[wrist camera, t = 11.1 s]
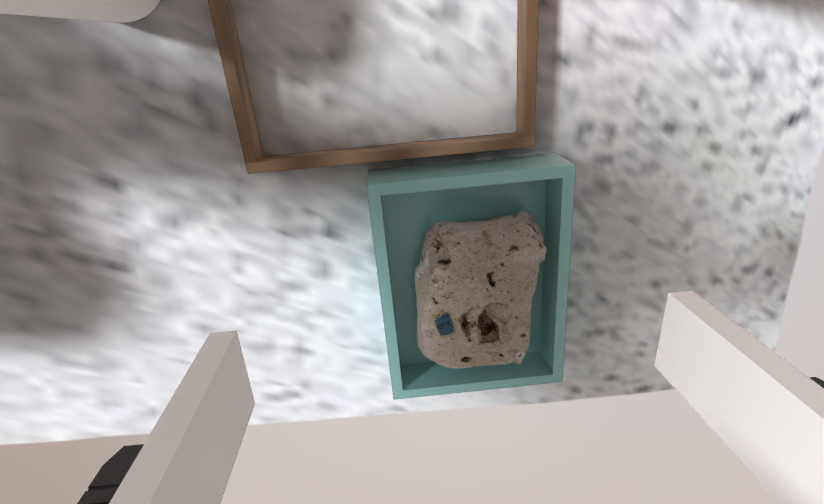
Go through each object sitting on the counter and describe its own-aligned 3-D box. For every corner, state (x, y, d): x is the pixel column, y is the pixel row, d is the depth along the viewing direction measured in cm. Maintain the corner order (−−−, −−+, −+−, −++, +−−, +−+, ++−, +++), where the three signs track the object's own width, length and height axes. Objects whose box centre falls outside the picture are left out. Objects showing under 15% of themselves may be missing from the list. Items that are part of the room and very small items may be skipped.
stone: (525, 383, 36) (403, 378, 34) (504, 331, 41) (395, 325, 39) (594, 246, 29) (444, 230, 27) (559, 203, 34) (429, 186, 32)
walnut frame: (255, 167, 32) (248, 173, 30) (191, -119, 26) (176, -133, 24) (526, 141, 33) (534, 146, 31) (531, -148, 26) (542, -163, 24)
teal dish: (392, 367, 40) (393, 399, 36) (368, 170, 33) (366, 184, 29) (546, 351, 40) (562, 381, 36) (554, 152, 33) (575, 164, 29)
